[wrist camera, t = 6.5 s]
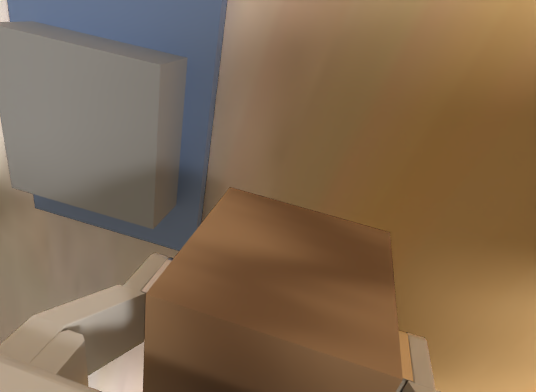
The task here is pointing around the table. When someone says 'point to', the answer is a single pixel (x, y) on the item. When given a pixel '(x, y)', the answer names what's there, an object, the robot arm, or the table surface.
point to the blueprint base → (201, 96)
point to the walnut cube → (274, 305)
